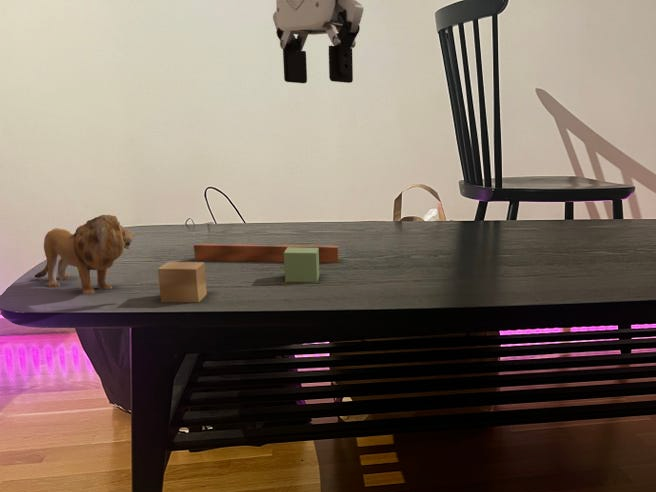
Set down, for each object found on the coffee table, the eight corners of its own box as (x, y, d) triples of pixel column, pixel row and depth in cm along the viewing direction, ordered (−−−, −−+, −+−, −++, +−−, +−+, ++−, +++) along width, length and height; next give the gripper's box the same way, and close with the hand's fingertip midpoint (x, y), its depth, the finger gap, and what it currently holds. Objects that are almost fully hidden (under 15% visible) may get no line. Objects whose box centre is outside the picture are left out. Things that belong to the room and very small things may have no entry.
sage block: (285, 283, 89) (283, 252, 88) (288, 277, 93) (287, 247, 92) (317, 284, 90) (316, 252, 88) (319, 277, 93) (318, 247, 92)
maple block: (161, 304, 77) (157, 268, 76) (171, 296, 81) (167, 261, 79) (199, 304, 78) (195, 269, 76) (207, 296, 81) (204, 262, 80)
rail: (195, 262, 99) (193, 245, 99) (197, 260, 101) (195, 243, 100) (338, 264, 102) (337, 247, 102) (338, 262, 104) (338, 245, 103)
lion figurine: (147, 291, 82) (138, 214, 80) (110, 300, 78) (99, 218, 75) (54, 277, 87) (43, 204, 84) (14, 285, 82) (0, 208, 79)
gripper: (246, -67, 87) (255, 80, 93) (331, -89, 77) (335, 79, 82) (297, -54, 93) (303, 84, 98) (383, -73, 82) (384, 83, 87)
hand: (317, 82), depth 90 cm, fingers open, 9 cm apart
